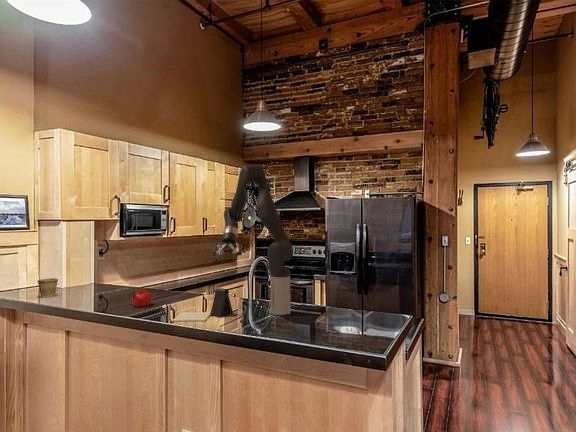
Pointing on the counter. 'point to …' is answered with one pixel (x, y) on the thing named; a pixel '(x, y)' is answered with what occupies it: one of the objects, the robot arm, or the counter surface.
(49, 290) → the ceramic cup
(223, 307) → the phone stand
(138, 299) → the pomegranate
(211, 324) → the counter surface
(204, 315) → the board
